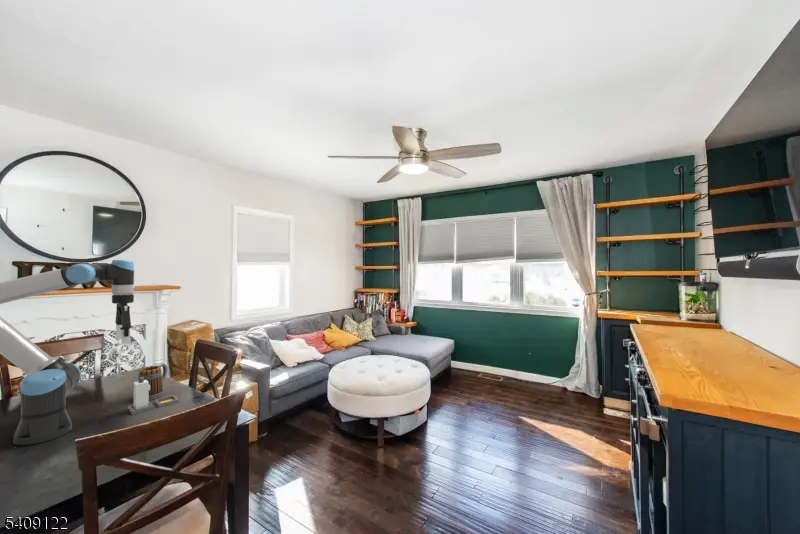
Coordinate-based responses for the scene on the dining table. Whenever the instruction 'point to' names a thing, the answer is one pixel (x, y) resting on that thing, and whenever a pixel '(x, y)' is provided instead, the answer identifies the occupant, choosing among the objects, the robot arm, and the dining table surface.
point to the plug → (141, 393)
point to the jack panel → (159, 403)
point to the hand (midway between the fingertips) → (122, 341)
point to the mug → (154, 379)
